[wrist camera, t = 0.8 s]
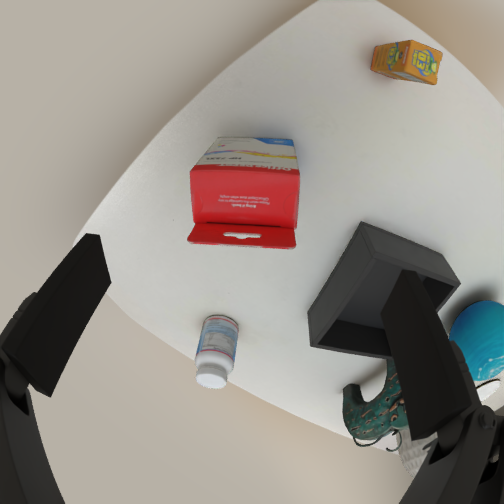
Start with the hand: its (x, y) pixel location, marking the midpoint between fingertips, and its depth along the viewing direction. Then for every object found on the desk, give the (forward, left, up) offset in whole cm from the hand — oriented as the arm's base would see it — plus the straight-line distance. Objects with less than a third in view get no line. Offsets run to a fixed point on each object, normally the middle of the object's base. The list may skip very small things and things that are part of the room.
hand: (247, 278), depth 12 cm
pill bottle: (+31, +2, -23) cm, 39 cm away
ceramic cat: (+36, +37, -23) cm, 57 cm away
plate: (+47, +96, -23) cm, 110 cm away
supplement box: (-14, +9, -23) cm, 28 cm away
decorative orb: (+14, +47, -23) cm, 54 cm away
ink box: (+2, -1, -23) cm, 23 cm away
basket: (+14, +22, -23) cm, 35 cm away
